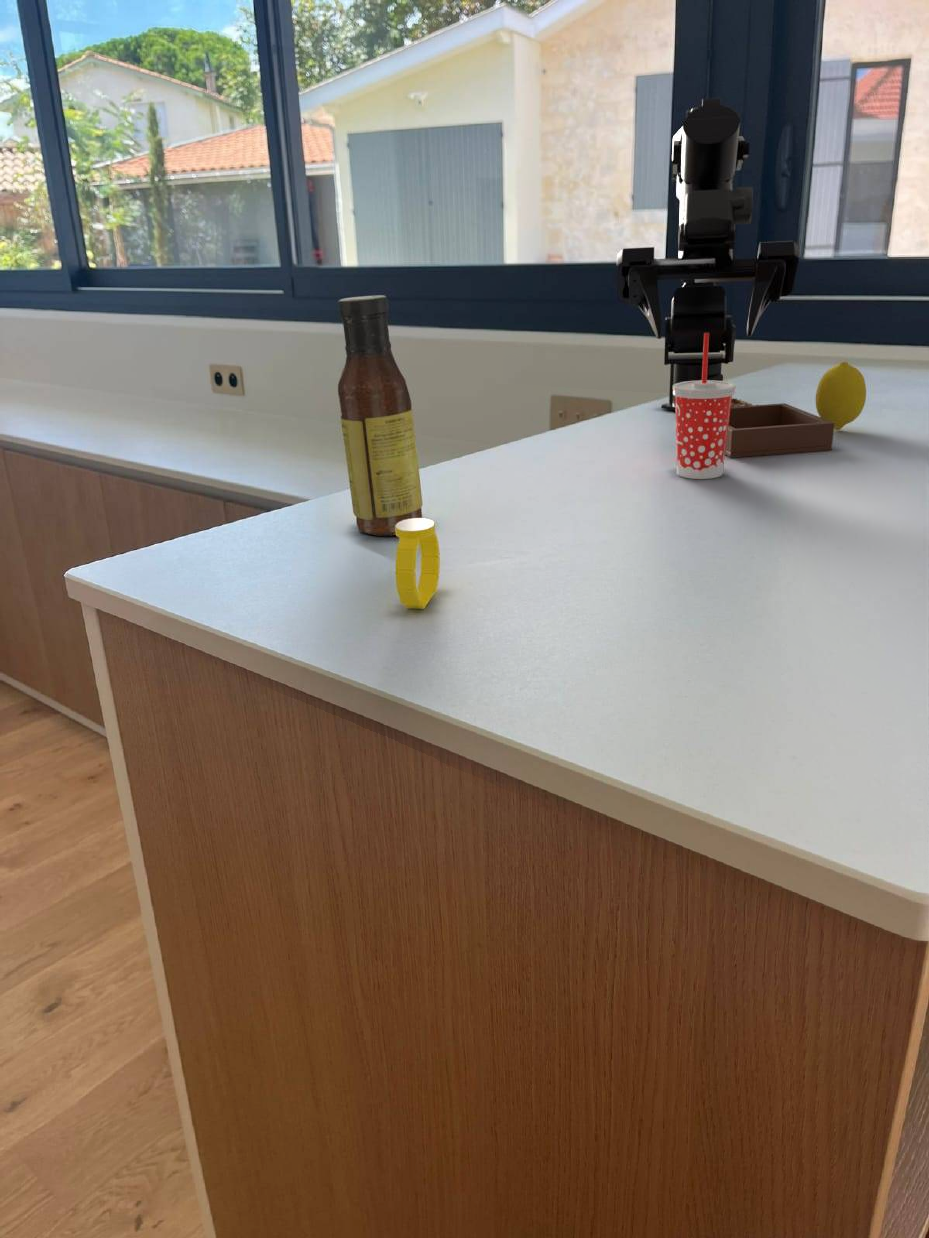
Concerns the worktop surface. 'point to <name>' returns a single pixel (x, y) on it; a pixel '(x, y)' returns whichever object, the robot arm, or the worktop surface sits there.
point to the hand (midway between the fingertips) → (704, 335)
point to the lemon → (841, 395)
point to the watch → (410, 538)
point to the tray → (776, 431)
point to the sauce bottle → (376, 421)
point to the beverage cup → (702, 423)
